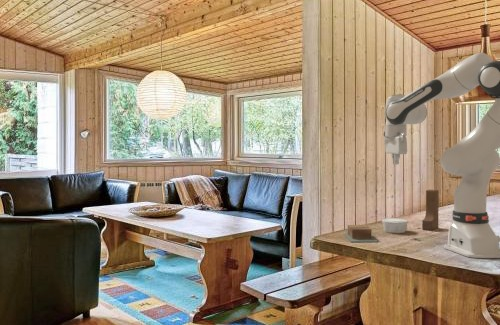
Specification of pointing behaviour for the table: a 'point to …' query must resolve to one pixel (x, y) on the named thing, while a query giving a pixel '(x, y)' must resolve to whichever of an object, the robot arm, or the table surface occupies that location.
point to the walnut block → (359, 231)
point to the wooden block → (431, 210)
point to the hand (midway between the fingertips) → (395, 164)
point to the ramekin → (394, 225)
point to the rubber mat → (360, 239)
